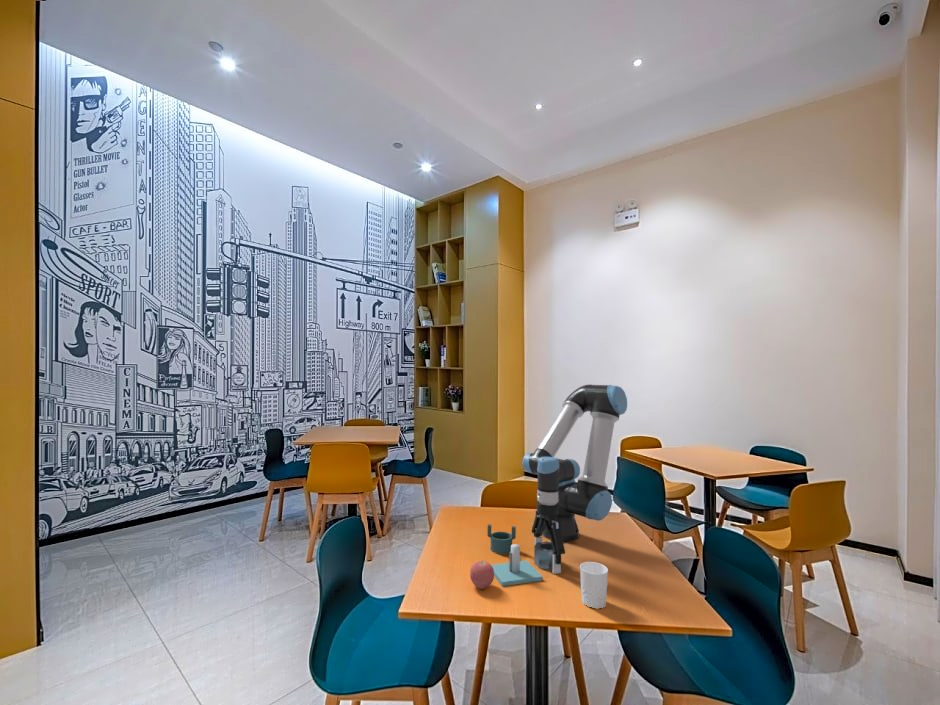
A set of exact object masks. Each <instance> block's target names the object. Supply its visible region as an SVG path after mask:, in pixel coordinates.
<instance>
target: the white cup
mask: <svg viewBox="0 0 940 705" xmlns="http://www.w3.org/2000/svg"><path fill="white" fill-rule="evenodd" d="M579 572H580V574H579V577H580V592H581V602H582V604H583V605H584V604H585V605H584V606H586V605H587V606H590V607H593V608H602V607H604V608H605V607H606V606H607V596H608V595H607V594H608V581H609V580H608V579H609V578H608V577H609V569H608V567H607V566H606V565H604V564H602V563H600V562H599V563H598V562H595V561H584V562H582V563H580V565H579ZM587 606H586V607H587ZM602 609H603V608H602Z"/></svg>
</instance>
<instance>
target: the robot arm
mask: <svg viewBox="0 0 940 705" xmlns="http://www.w3.org/2000/svg"><path fill="white" fill-rule="evenodd" d="M627 398H628V397H627V395H626V392H625V391H624V389H623V388H622V387H621V386H619V385H612V384H608V385H607V384H584V385H581V386H579V387H578V388H576V389H575V390H574V391H571V392H570V394H569V395H568V396H567V397H566V398H565V400H564V401H563V403H562V409H561V410H560V411H559V414H558V415H557V417H556V418H555V419H554V421H553V423H552V424H551V426H550V427H549V429H548V431H547V432H546V433H545V434H544V436H543V438H542V440H541V441H540V443H539V444H538V446H537V447H536V449H535V450H534V452H531V453H529V452H527V453H525V455H524V456H523V458H522V462H521V464H522V468H523V470H524V471H525V472H527V473H530V474H532V475H537V488H536V490H537V493H536V498H537V499H536V500H537V502H536V510H535V517H534V521H533V524H532V529H531V533H532V534H533V536H534V537H533V538H534V546H535V545H536V544H537V543H538V542H543V536H544V538H547V539H550V542H551V543H552V547H553V550H554V552H553V553H552V554H553V570H551V571H552V572H551V573H552V574H553V575H556V574H561V573H562V564H561V563H562V555H566V550H565V546H564V545H565V544H564V542H573V541H576V540H578V539H579V538H580V531H579V526H578V524H577V520H576V517H575V515H576V516H579V517H583V518H585V519H588V520H594V521H602V520H604V519H605V518H606V517H607V516H608V515H609V514H610V512H611V508H612V505H613V499H612V498H613V497H612V496H613V495H612V493H611V492H610V491H608V489H609V488H608V487H609V486H608V484H607V483H606V476H607V470H608V465H609V460H610V459H609V457H610V451H611V446H612V440H613V433H614V427H615V423H616V422H618V421H620V415H624V414H625V413H626V411H627V409H628V399H627ZM587 412H590V413H589V415H590V416H591V417H592V421H591V422H592V423H591V427H590V433H589V434H590V435H589V437H588V438H589V439H588V445H587V450H586V455H585V460H584V461H585V462H584V467H583V472H582V476H581V477H579V476H580V473H581V467H580V465H579V462H577V461H576V460H575V459H572V458H565V459H561V458H557V457H555V456H556V454H557V453H558V452H559V450H560V448H561V446H562V444H563V443H564V442H565V440H566V438H567V437H568V436H569V433H570V432H571V430H572V428H573V427H574V425H575V424H576V423H577V420H578V419H580V418H582V417H583V415H584V414H585V413H587ZM575 479H577V483H576V480H575Z"/></svg>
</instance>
